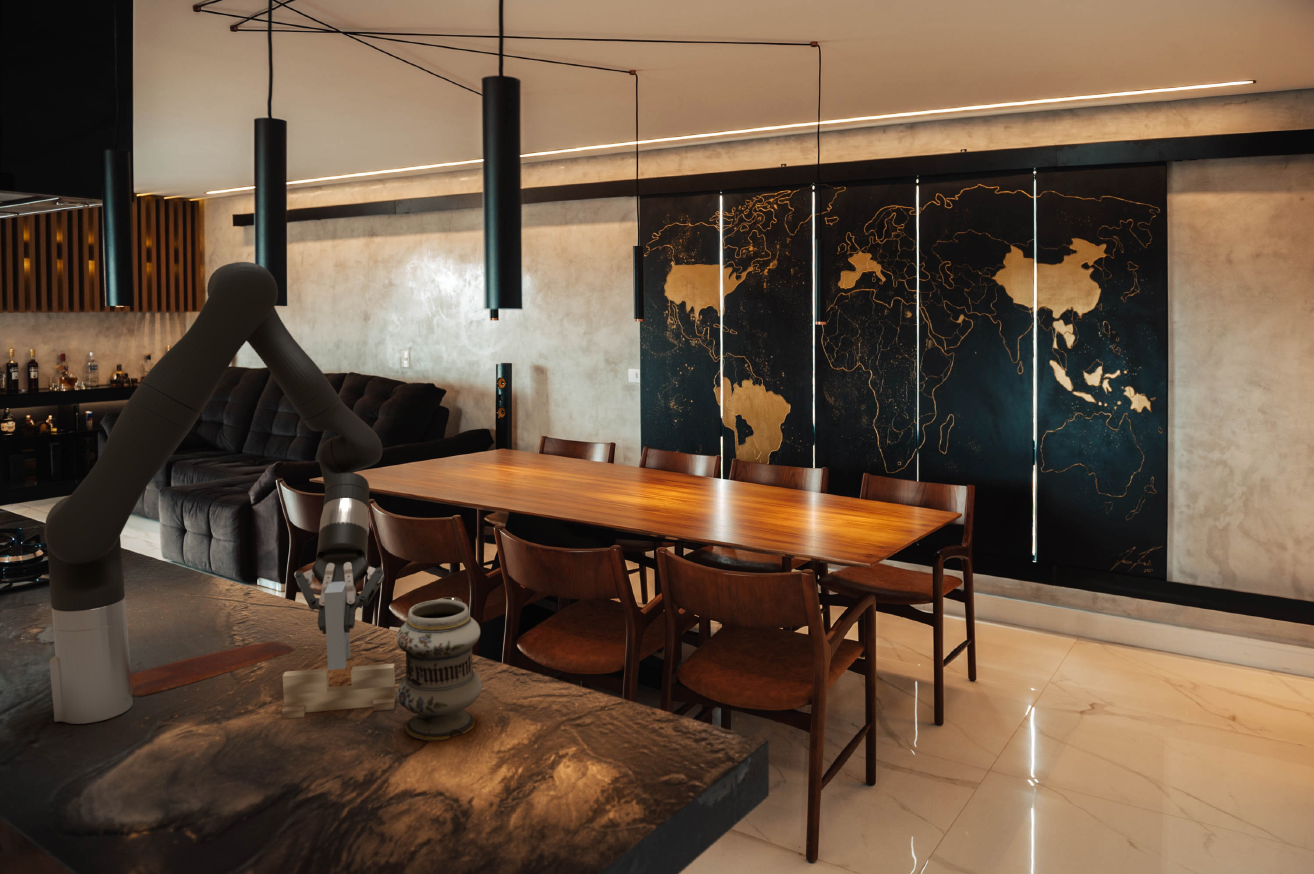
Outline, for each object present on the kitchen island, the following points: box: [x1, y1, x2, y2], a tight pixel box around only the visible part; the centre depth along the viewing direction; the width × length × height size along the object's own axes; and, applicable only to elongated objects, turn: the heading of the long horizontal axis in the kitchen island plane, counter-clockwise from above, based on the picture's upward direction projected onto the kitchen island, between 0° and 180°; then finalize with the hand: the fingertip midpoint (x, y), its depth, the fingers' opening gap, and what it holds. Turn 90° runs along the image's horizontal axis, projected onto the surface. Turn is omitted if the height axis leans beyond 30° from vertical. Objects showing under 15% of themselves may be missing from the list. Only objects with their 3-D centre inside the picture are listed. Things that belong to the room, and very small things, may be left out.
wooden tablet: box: [131, 641, 296, 697], centre depth 147 cm, size 27×10×2 cm, turn 139°
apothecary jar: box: [396, 599, 483, 742], centre depth 124 cm, size 12×12×18 cm
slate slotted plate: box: [324, 581, 351, 671], centre depth 130 cm, size 2×5×12 cm, turn 13°
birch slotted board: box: [281, 663, 397, 720], centre depth 131 cm, size 16×5×6 cm, turn 102°
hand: (335, 630), depth 128 cm, fingers closed on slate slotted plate, 2 cm apart
